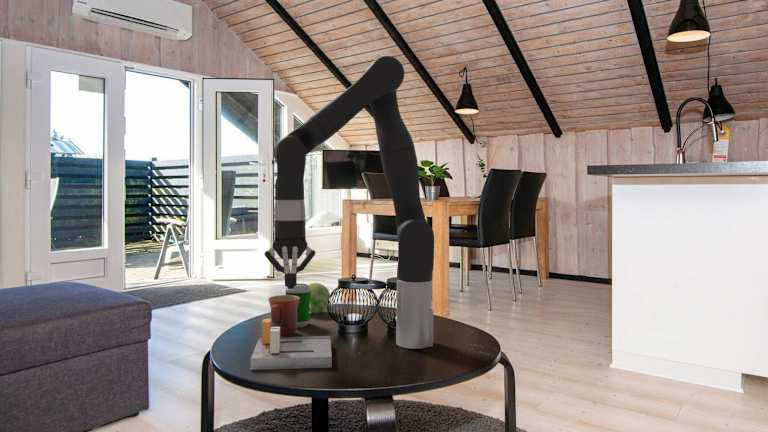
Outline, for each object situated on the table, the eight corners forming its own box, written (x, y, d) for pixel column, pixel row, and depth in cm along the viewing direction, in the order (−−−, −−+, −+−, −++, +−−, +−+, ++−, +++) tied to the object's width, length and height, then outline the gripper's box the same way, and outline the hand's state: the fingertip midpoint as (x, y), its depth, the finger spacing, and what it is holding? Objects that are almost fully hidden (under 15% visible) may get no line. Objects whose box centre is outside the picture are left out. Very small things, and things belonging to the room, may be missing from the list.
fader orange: (271, 339, 130) (271, 318, 130) (270, 343, 126) (270, 321, 126) (263, 339, 130) (263, 318, 129) (261, 343, 126) (261, 322, 126)
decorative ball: (332, 315, 168) (332, 285, 167) (301, 317, 165) (301, 286, 165) (327, 309, 177) (327, 280, 177) (298, 310, 175) (298, 281, 174)
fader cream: (280, 348, 122) (280, 326, 122) (278, 353, 119) (279, 330, 119) (271, 348, 122) (271, 326, 122) (270, 353, 119) (270, 330, 118)
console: (329, 345, 135) (329, 335, 134) (331, 367, 118) (331, 356, 118) (259, 347, 132) (259, 337, 132) (250, 369, 115) (250, 358, 115)
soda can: (308, 328, 152) (308, 287, 151) (282, 327, 152) (283, 287, 152) (312, 321, 159) (312, 283, 159) (288, 321, 160) (288, 282, 159)
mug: (275, 329, 150) (275, 294, 150) (304, 331, 148) (304, 295, 148) (257, 340, 138) (257, 302, 138) (288, 343, 137) (288, 304, 136)
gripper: (317, 217, 132) (317, 285, 133) (264, 218, 130) (264, 286, 131) (317, 219, 124) (317, 290, 125) (260, 219, 123) (261, 292, 123)
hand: (290, 288), depth 128 cm, fingers closed
